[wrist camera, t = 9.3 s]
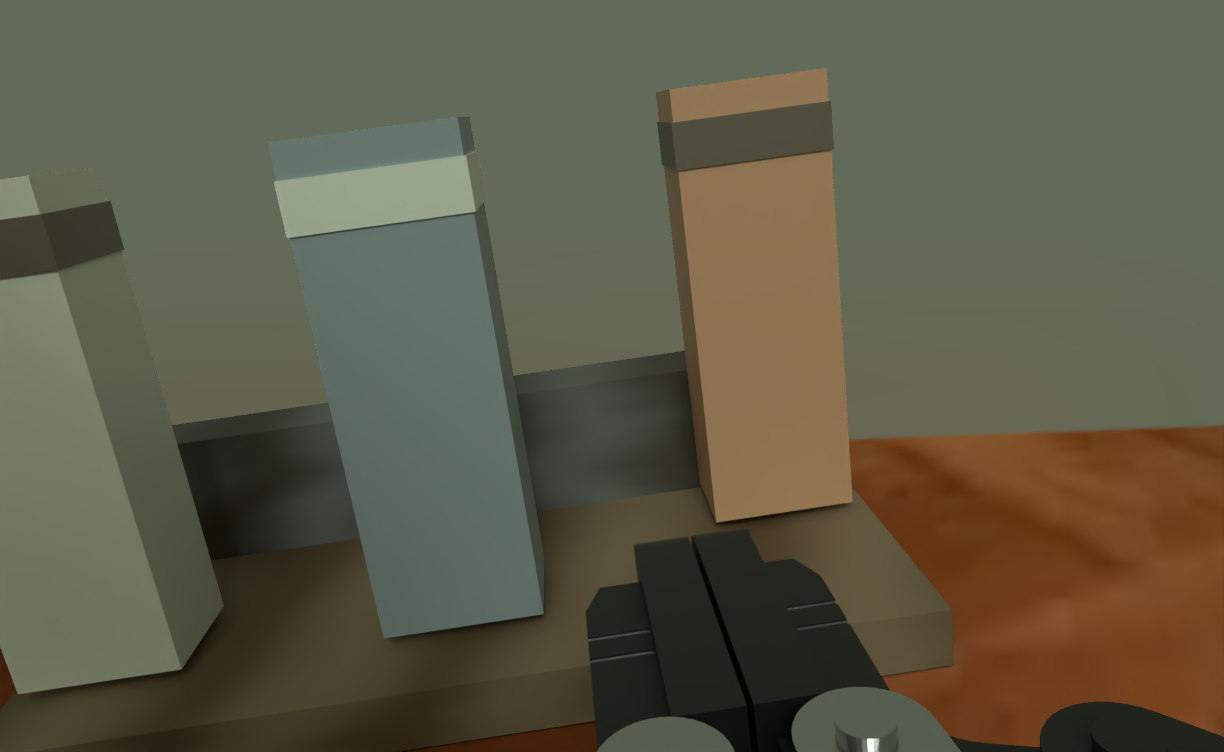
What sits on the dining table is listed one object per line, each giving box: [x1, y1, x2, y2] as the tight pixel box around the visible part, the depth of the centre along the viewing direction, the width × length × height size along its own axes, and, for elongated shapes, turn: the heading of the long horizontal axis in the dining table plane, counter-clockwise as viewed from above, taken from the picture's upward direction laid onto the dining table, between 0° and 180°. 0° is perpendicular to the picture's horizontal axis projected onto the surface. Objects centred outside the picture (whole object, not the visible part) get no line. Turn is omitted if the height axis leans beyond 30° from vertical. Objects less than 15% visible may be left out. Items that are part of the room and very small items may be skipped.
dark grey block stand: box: [0, 351, 953, 752], centre depth 25 cm, size 23×11×6 cm, turn 94°
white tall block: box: [0, 168, 224, 694], centre depth 22 cm, size 4×3×12 cm
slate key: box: [268, 117, 544, 638], centre depth 22 cm, size 4×3×12 cm
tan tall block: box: [656, 68, 852, 522], centre depth 26 cm, size 4×3×12 cm
